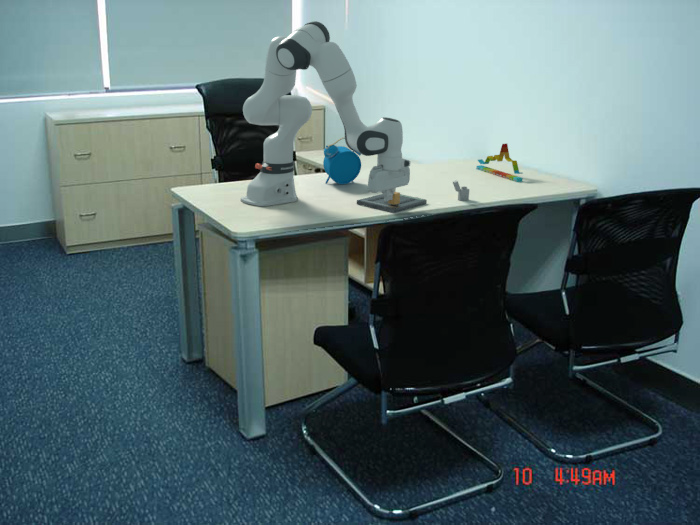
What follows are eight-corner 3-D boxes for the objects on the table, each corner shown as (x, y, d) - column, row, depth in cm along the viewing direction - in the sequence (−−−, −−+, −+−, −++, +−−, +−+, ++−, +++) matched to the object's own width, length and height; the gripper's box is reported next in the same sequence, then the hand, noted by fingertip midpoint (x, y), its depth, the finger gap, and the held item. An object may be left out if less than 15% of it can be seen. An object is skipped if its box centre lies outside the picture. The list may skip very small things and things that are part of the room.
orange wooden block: (394, 204, 278) (395, 194, 276) (388, 203, 280) (388, 192, 278) (399, 203, 280) (400, 192, 279) (393, 201, 282) (393, 191, 281)
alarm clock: (353, 179, 327) (354, 133, 320) (364, 184, 318) (365, 137, 312) (317, 182, 320) (318, 135, 313) (327, 187, 311) (328, 139, 305)
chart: (475, 169, 355) (478, 137, 350) (481, 169, 356) (483, 137, 351) (516, 182, 329) (519, 148, 324) (522, 182, 330) (525, 148, 326)
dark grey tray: (393, 212, 274) (394, 208, 274) (356, 204, 286) (356, 200, 285) (426, 203, 289) (426, 199, 288) (389, 195, 300) (389, 191, 299)
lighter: (466, 198, 297) (467, 179, 295) (468, 199, 296) (470, 179, 293) (451, 200, 294) (452, 180, 292) (453, 201, 293) (455, 181, 290)
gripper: (377, 168, 263) (376, 206, 267) (413, 160, 277) (411, 197, 282) (364, 165, 267) (363, 203, 271) (399, 158, 281) (398, 194, 286)
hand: (388, 200), depth 277 cm, fingers closed
